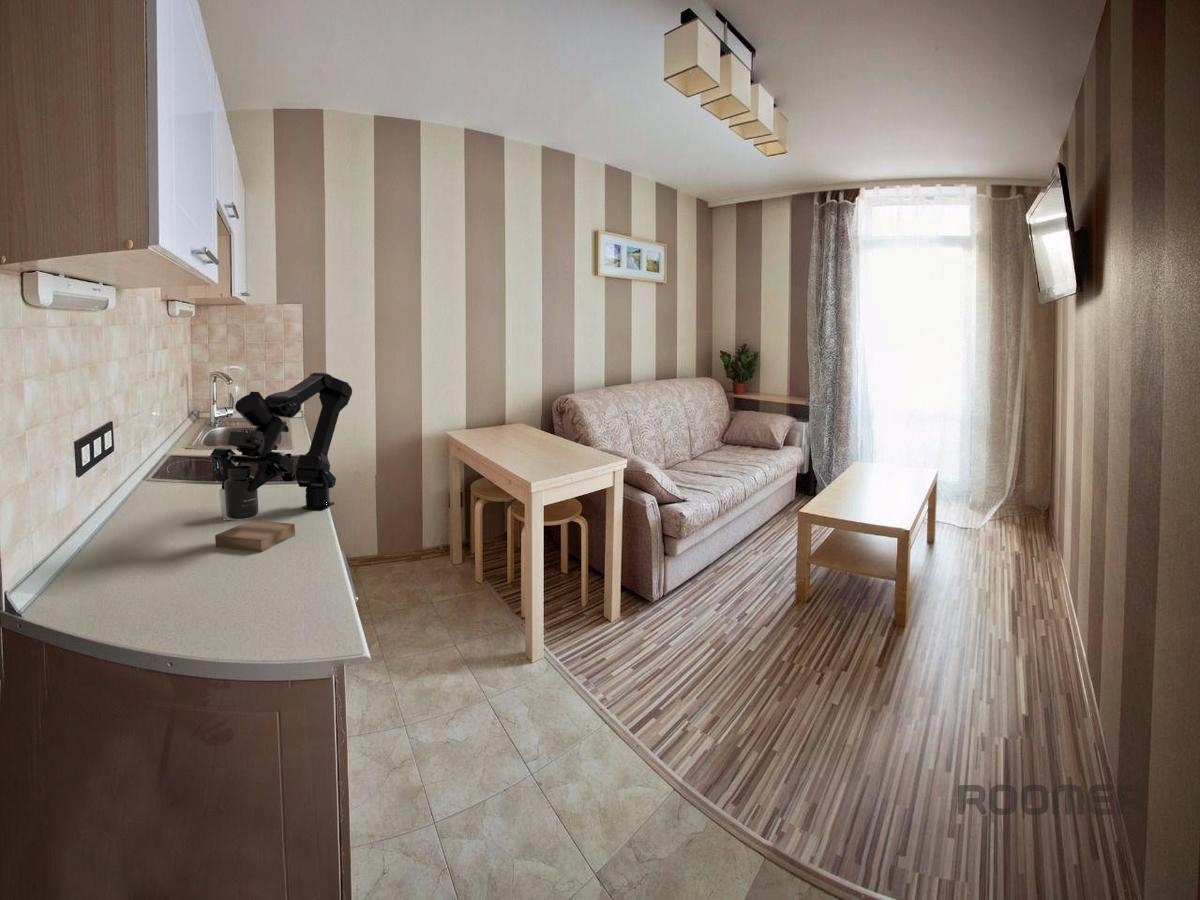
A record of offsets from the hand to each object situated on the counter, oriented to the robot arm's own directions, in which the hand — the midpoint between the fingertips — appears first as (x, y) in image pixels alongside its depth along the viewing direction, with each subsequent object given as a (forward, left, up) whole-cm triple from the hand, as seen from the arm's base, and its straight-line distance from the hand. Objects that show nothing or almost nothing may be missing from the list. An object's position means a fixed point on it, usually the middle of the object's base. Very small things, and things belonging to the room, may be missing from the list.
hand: (236, 490), depth 141 cm
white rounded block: (-17, -15, -13) cm, 26 cm away
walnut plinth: (-2, +3, -13) cm, 14 cm away
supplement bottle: (-1, 0, -7) cm, 7 cm away
